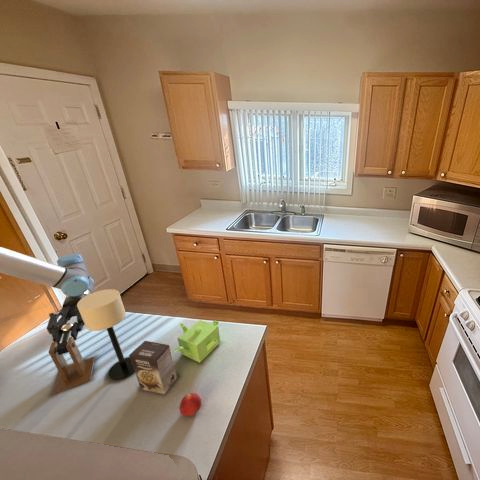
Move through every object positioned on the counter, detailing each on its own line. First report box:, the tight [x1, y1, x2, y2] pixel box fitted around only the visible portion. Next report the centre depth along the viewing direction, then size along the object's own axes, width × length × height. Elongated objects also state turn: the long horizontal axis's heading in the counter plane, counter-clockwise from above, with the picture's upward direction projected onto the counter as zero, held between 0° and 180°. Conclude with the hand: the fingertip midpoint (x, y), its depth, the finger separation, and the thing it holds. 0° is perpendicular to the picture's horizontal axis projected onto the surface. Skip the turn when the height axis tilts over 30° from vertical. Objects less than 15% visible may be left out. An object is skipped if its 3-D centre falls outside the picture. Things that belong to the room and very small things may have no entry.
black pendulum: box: [56, 322, 74, 355], centre depth 85 cm, size 12×4×4 cm, turn 33°
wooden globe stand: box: [48, 336, 96, 395], centre depth 84 cm, size 11×9×15 cm
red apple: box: [179, 392, 202, 417], centre depth 76 cm, size 6×6×8 cm
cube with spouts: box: [174, 319, 221, 363], centre depth 97 cm, size 15×14×11 cm
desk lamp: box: [77, 288, 135, 381], centre depth 83 cm, size 10×10×31 cm
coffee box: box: [128, 340, 178, 395], centre depth 82 cm, size 9×6×16 cm
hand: (64, 339), depth 84 cm, fingers closed on black pendulum, 4 cm apart
